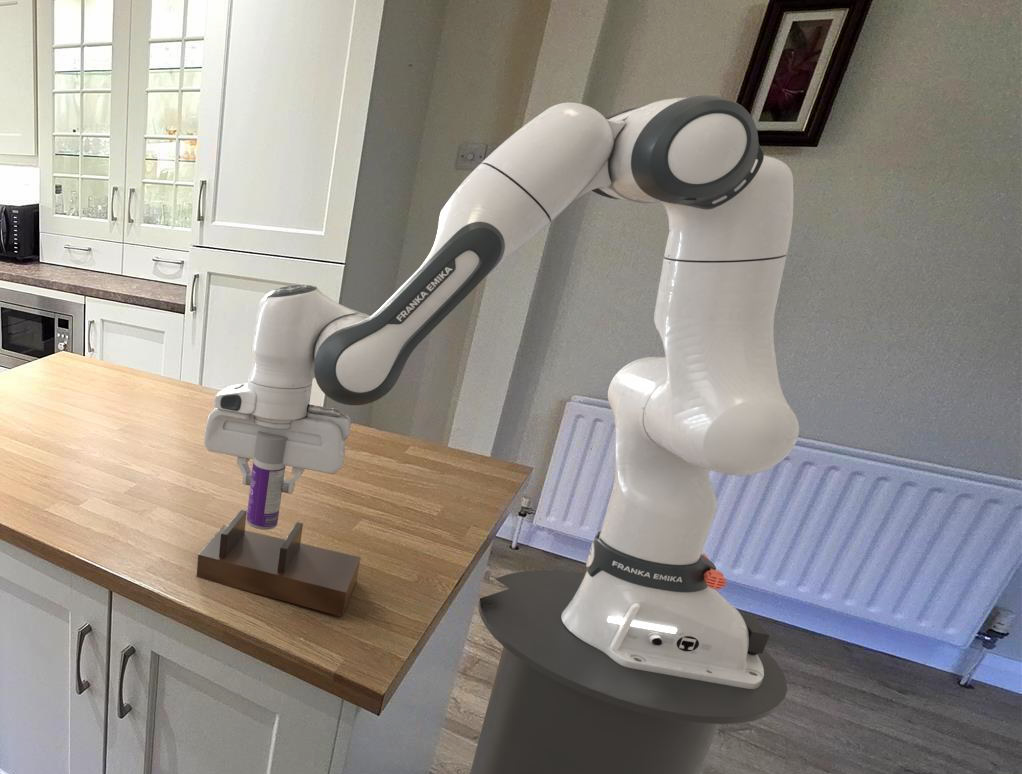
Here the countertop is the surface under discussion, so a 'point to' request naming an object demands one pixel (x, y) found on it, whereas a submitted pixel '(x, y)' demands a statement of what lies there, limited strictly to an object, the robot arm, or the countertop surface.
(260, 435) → the container
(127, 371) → the countertop surface
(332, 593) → the brown two-slot stand
